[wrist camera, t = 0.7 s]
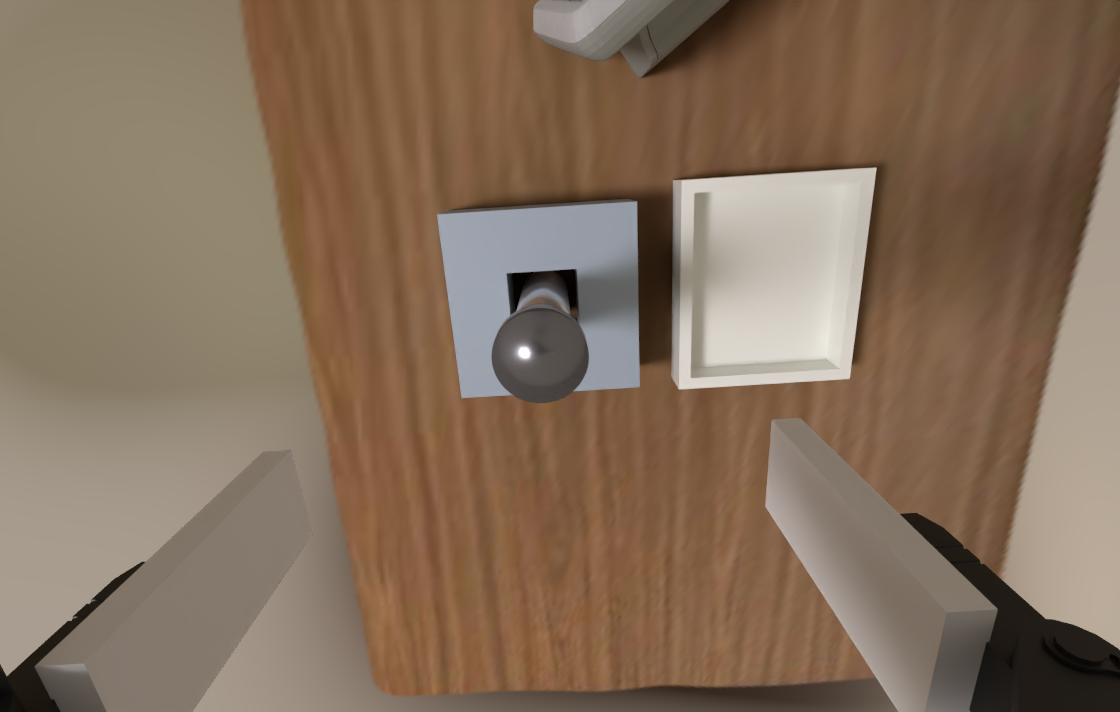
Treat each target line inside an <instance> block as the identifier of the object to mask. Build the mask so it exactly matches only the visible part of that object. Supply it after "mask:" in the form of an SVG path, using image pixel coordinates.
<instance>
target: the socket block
mask: <svg viewBox="0 0 1120 712" xmlns="http://www.w3.org/2000/svg"><path fill="white" fill-rule="evenodd" d="M437 217H438V225H439V232H440V240H441V247H442V255H443V262H444V269H445V277H446V284H447V292H448V299H449V307H450V314H451V322H452V329H453V336H454V344H455V351H456V359H457V366H458V374H459V381H460V389H461V396H462V398H470V397H486V396H502V395H512V394H511V393H509V392H508V391H507V390H506V389H505V388H504V387H503V386H502V385H501V383H500V382H499V380H498V379H497V377H496V375H495V373H494V370H493V366H492V358H491V354H492V347H493V343H494V340H495V338H496V335H497V332H498V330H499V328H500V326H501V325H502V324H503V322H504V321H505V320H506V319H507V318H508V317H509V316H510V315H511V314H513V313H514V312H516V309H515V298H514V287H513V277H512V273H521V272H537V271H552V270H568V269H575V279H576V298H577V317H578V321H577V322H578V323H579V325H580V326H581V328H582V330H583V332H584V334H585V337H586V341H587V346H588V351H589V363H588V368H587V372H586V374H585V376H584V379H583V380H582V382H581V383H580V385H579V386H578V387H577V388H576V389H575V390H574V391H583V390H599V389H616V388H632V387H640V381H639V306H638V231H637V201H634V200H631V199H616V200H601V201H586V202H570V203H555V204H540V205H524V206H509V207H494V208H478V209H463V210H449V211H446V212H443V213H440V214H437Z"/></svg>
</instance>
